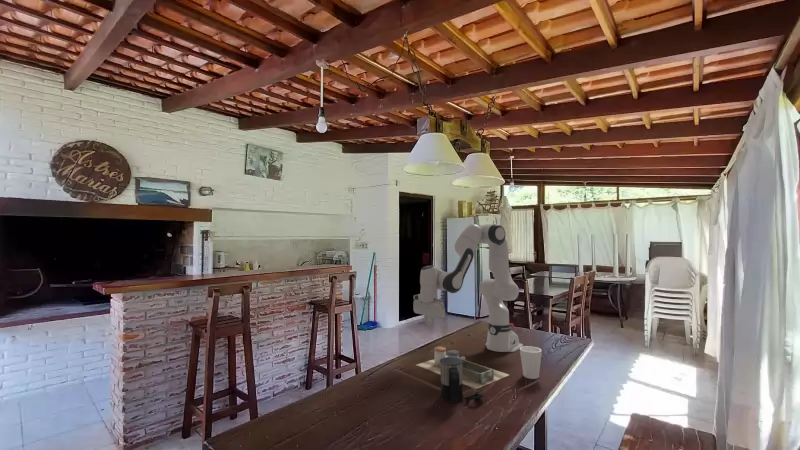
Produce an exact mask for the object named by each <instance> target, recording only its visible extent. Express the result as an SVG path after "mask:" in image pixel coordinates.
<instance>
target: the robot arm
mask: <svg viewBox="0 0 800 450" xmlns="http://www.w3.org/2000/svg"><path fill="white" fill-rule="evenodd" d="M506 236H507V235H506V230H505V228H504V227H503V225H501V224H497V223H493V224H492V223H487V224H481V225H480V224H479V225H478V224H474V223H471V224H469V225H468V226H466V227H465V228H464V229H463V231H462V232H461V233H460V235H459V236H458V237H457V239H456V241H455V243H454V245H453V247H454V251H455V252H456V254H457V255H458V256H459V259H458V262H457V264H456V266H455V268H454V270H452V271H451V272H448V271H444V270H442V269H440V268H438V267H436V266H435V265H425V266H423V267H422V268H420V269H421V270H420V275H419V284H420V290H419V292H420V293H418V294H414V295H413V303H412V305H413V306H412V307H413V309H412V310H413V312H414V313H415V314H418V315H422V316H423V318H424V321H425V325H428V326H431V325H432V326H433V321H434V318H436V319H440V320H441V319H444V318H445V317H446V309H445V302H444V301H443V300H442V299H441V298H438V290H441V291H446V292H448V293H450V294H456V293H458V292H460V291H461V289H462V287H463V284H464V280H465V278H466V274H467V273H468V271H469V269H470V266H471V264H472V262H473V260H474V255H475V253H474V252H475V250H476V249H477V247H478V245H479V244H485V245H488V247H489V249H488V270H489V271H490V272H491V273H492V274H493V276H494V278H488V279H487V278H486V279H483V280H481V282H480V283H479V292H480V294H481V295H482V296H483V298H484V299H485V301H486V302H485V303H486V305H487V309H488V327H487V328H488V330H487V334H486V335H487V336H486V337H487V338H486V343H485V346H486V349H487V350H490V351H493V352H497V353H498V352H499V353H501V352H502V353H515V352H516V351H518V350H520V347H524V344H523V343H521V342H520V340H519V336H518V334H516V332H514V331H513V330H512V328H514V325H515V324H514V323H510V312H509V309H508V307H507V306H506V305H505V304H504V301H506V302H508V301H515V300H516V299H518V297H519V293H520V289H519V286H518V285H517V284H516V283H515V281H514V280H513V278H512V276H511V273H510V266H509V265H510V263H509V261H510V260H509V246H508V241H507V239H506Z"/></svg>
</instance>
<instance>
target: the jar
mask: <svg viewBox="0 0 800 450" xmlns="http://www.w3.org/2000/svg"><path fill="white" fill-rule="evenodd" d="M446 355H447V348H446V347H444V346H435V347H434V359H435V366H439V367H440V359H442V358H446Z"/></svg>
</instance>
